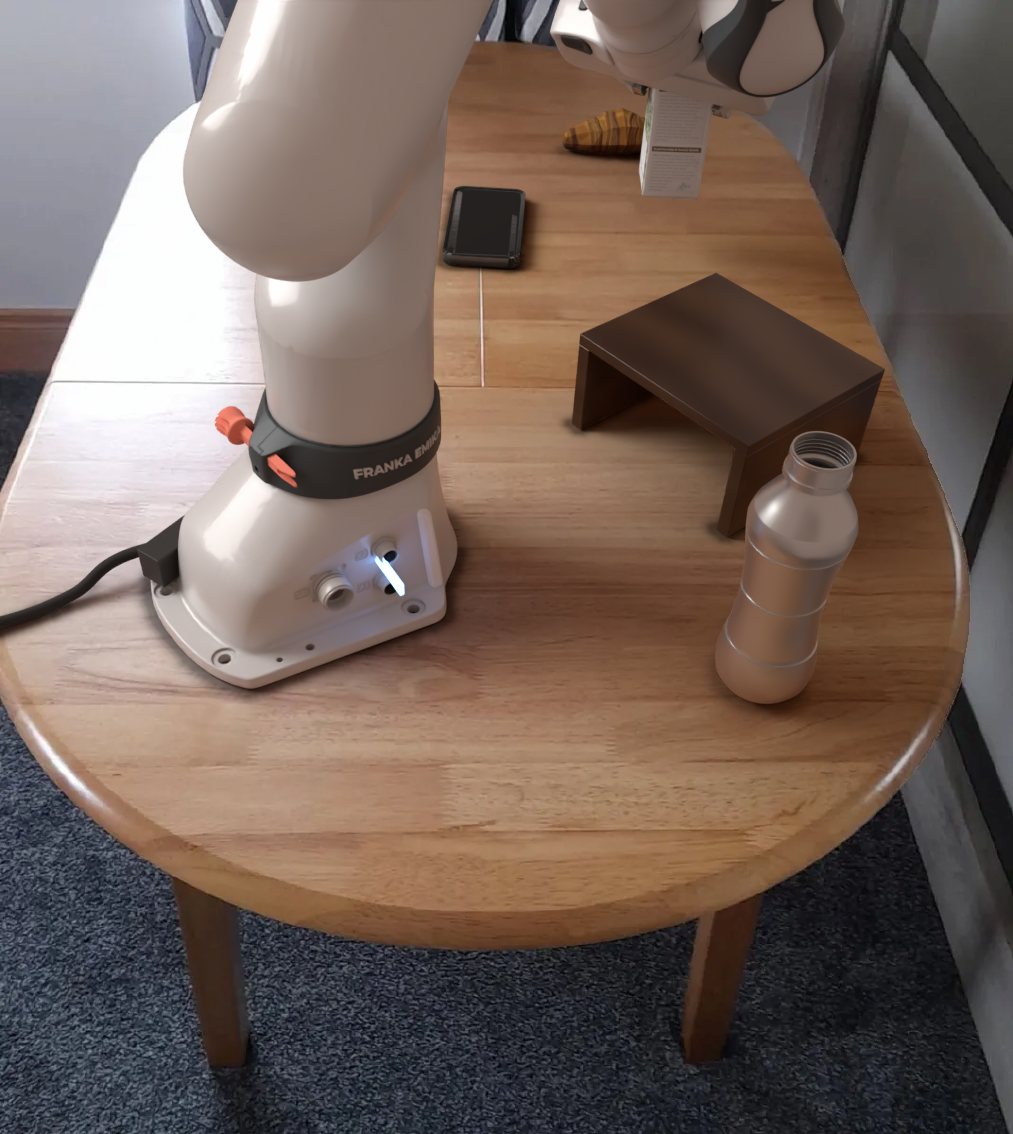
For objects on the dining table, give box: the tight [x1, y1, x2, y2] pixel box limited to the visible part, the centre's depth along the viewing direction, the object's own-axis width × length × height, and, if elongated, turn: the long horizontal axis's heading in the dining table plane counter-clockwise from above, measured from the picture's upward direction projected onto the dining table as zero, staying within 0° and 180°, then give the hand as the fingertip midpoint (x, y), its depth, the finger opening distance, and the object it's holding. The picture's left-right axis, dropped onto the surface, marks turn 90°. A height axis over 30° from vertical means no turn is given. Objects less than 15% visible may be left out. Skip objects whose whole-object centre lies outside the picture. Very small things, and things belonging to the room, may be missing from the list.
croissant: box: [562, 107, 645, 156], centre depth 136 cm, size 14×7×5 cm, turn 98°
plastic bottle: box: [714, 431, 859, 705], centre depth 72 cm, size 6×7×20 cm
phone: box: [442, 185, 526, 269], centre depth 122 cm, size 8×1×15 cm
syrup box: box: [638, 87, 713, 201], centre depth 110 cm, size 6×6×14 cm
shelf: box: [571, 272, 886, 538], centre depth 95 cm, size 16×18×9 cm
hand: (681, 98), depth 110 cm, fingers closed on syrup box, 7 cm apart
